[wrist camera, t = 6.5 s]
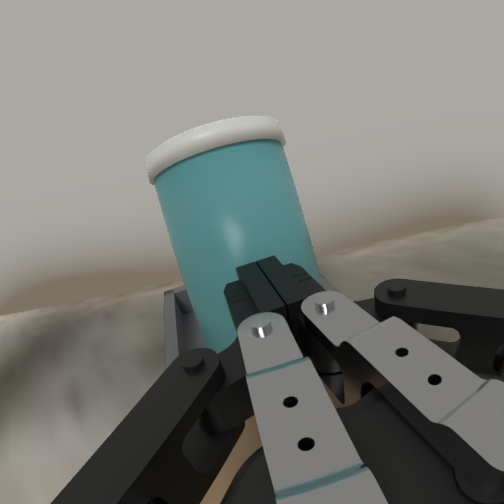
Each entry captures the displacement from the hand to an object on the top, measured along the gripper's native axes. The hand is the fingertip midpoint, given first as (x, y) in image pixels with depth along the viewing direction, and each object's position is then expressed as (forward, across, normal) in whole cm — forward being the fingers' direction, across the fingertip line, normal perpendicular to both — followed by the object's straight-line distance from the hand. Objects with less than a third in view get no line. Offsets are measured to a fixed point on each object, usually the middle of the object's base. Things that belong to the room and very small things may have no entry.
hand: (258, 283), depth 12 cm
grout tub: (+2, 0, +5) cm, 6 cm away
